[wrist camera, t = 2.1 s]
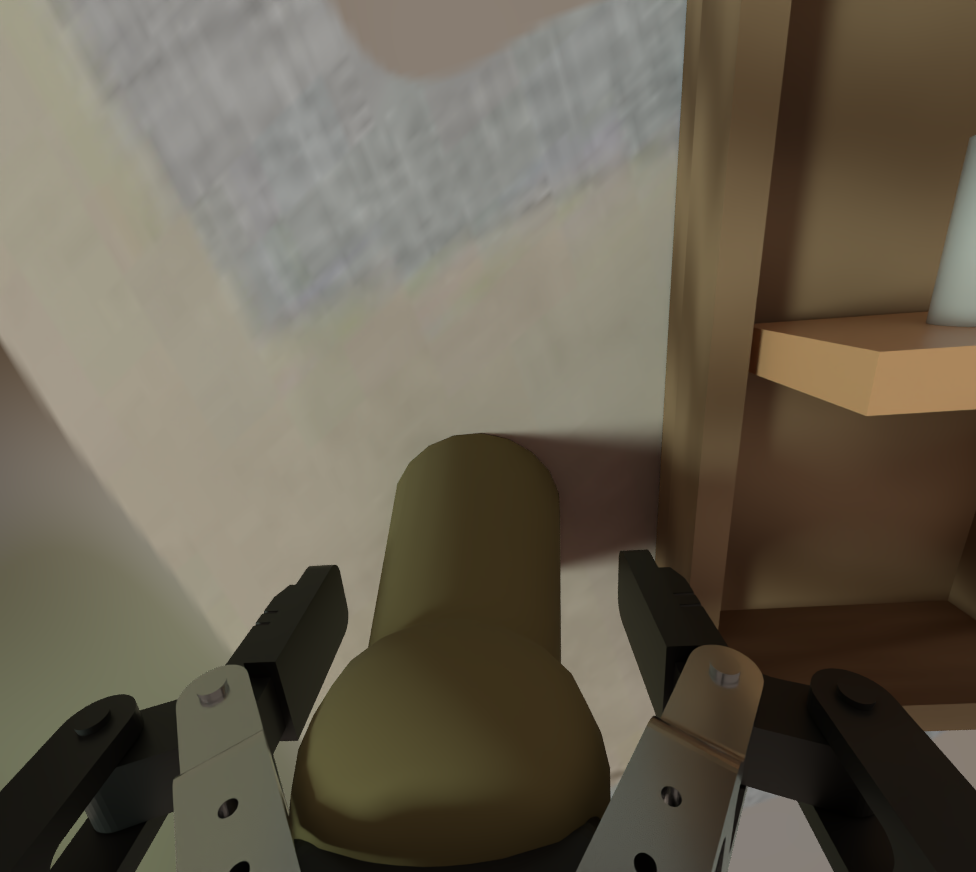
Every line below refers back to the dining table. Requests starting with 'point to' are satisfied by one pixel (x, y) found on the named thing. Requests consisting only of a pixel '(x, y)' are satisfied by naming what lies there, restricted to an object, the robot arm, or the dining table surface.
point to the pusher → (891, 338)
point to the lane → (807, 296)
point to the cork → (457, 680)
